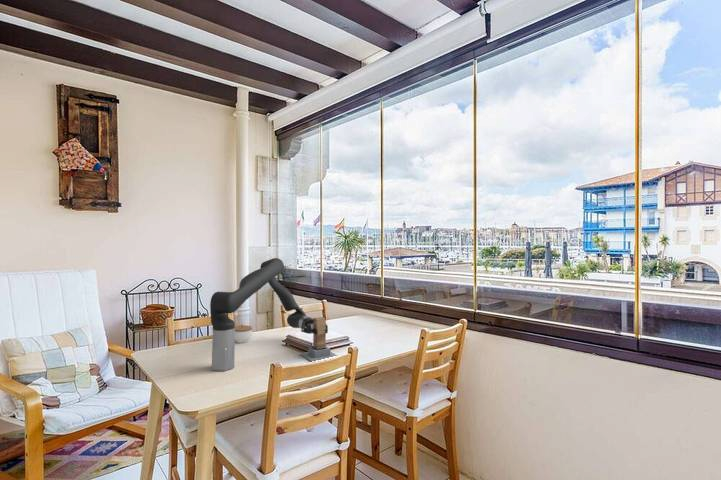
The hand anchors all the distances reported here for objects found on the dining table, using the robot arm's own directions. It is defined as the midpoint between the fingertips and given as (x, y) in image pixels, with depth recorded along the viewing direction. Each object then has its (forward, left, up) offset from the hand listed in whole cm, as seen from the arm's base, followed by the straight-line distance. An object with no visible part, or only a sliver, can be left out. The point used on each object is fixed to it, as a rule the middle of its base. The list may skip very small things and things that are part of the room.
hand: (321, 331), depth 187 cm
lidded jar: (+22, +50, -13) cm, 56 cm away
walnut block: (+2, +2, -8) cm, 8 cm away
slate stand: (+2, +2, -12) cm, 13 cm away
